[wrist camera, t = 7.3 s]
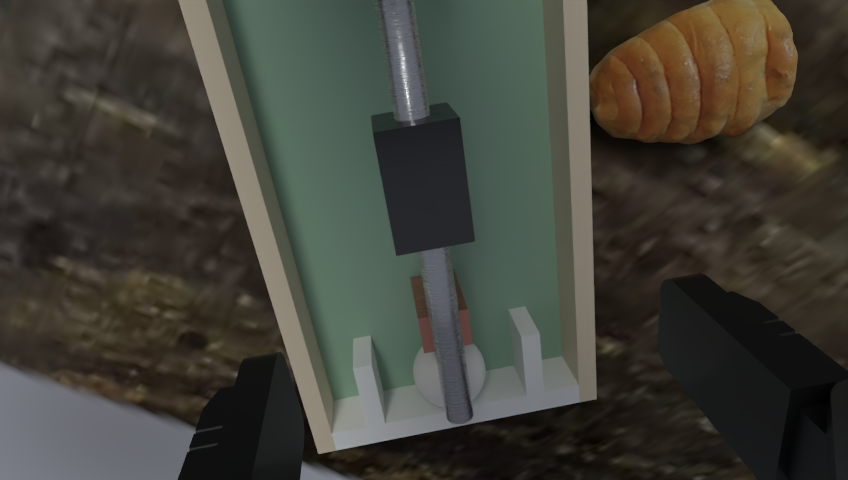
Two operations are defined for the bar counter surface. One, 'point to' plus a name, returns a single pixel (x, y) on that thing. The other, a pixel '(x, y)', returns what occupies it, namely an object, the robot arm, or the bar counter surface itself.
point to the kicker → (426, 199)
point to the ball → (429, 376)
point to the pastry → (697, 74)
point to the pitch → (367, 211)
